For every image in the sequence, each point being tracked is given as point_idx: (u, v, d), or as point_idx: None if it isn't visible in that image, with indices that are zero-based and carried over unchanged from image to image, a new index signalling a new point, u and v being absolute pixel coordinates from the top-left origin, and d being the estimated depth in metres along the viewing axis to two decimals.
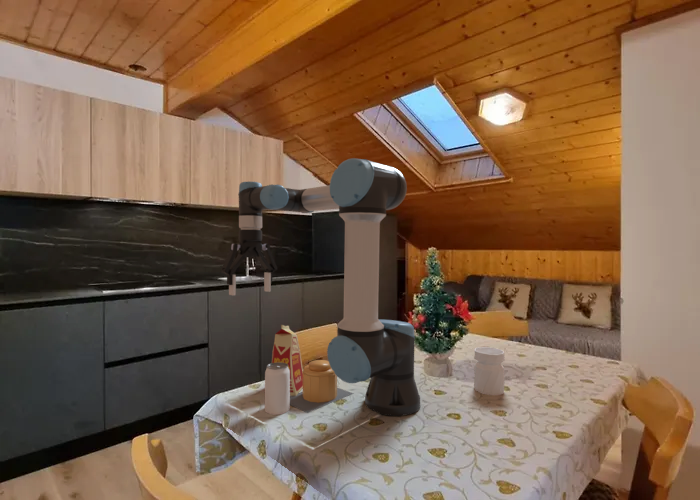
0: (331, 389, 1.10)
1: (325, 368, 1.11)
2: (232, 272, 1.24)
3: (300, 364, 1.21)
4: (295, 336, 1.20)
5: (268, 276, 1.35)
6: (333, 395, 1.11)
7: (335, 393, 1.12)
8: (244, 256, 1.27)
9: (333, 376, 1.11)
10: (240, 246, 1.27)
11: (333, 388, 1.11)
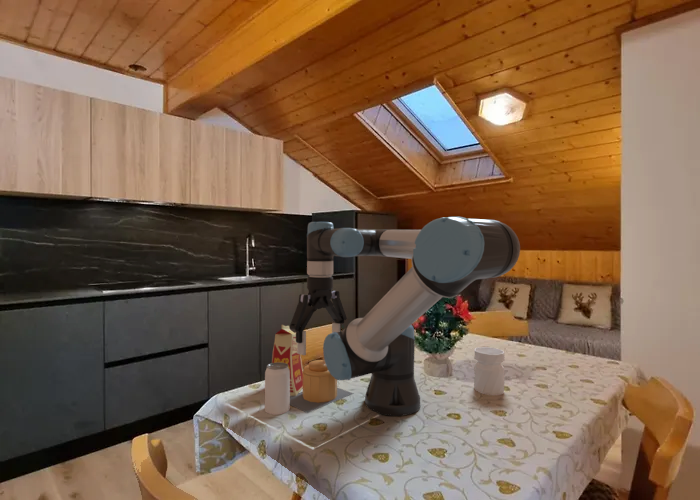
0: (331, 389, 1.10)
1: (325, 368, 1.11)
2: (302, 328, 1.07)
3: (300, 364, 1.21)
4: (295, 336, 1.20)
5: (337, 328, 1.18)
6: (333, 395, 1.11)
7: (335, 393, 1.12)
8: (315, 308, 1.10)
9: None
10: (310, 297, 1.10)
11: (333, 388, 1.11)
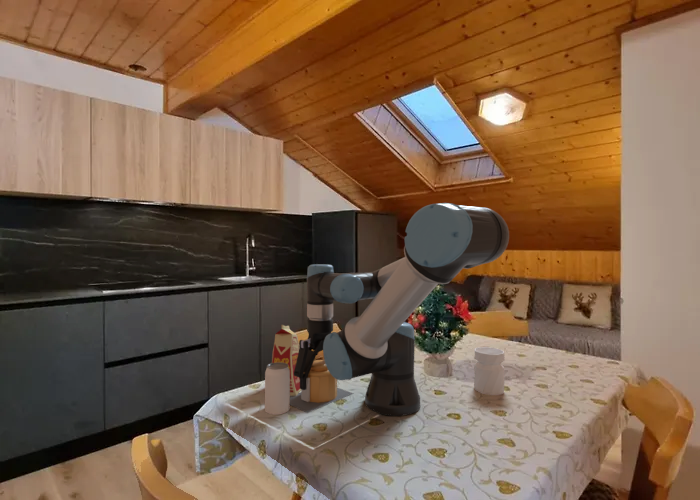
0: (331, 389, 1.10)
1: (325, 368, 1.11)
2: (306, 375, 1.08)
3: None
4: (295, 336, 1.20)
5: None
6: (333, 395, 1.11)
7: (335, 393, 1.12)
8: (316, 353, 1.10)
9: None
10: (310, 341, 1.10)
11: (333, 388, 1.11)
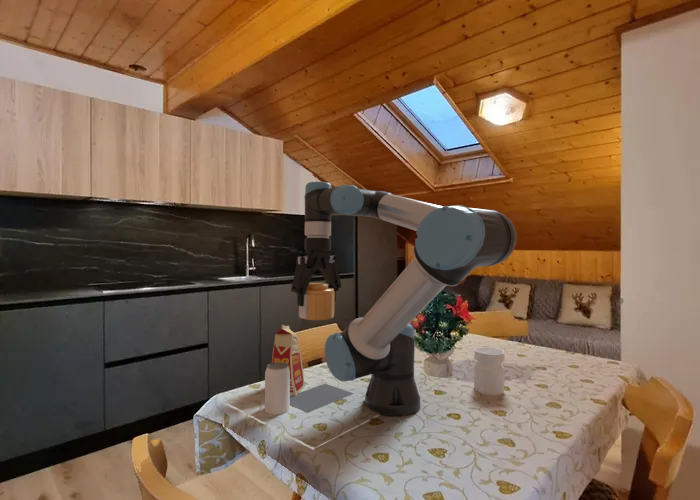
0: (327, 308, 1.10)
1: (322, 288, 1.10)
2: (304, 291, 1.08)
3: (300, 364, 1.21)
4: (295, 336, 1.20)
5: None
6: (330, 314, 1.10)
7: (332, 313, 1.11)
8: (313, 270, 1.09)
9: (330, 295, 1.10)
10: (307, 258, 1.09)
11: (330, 307, 1.10)
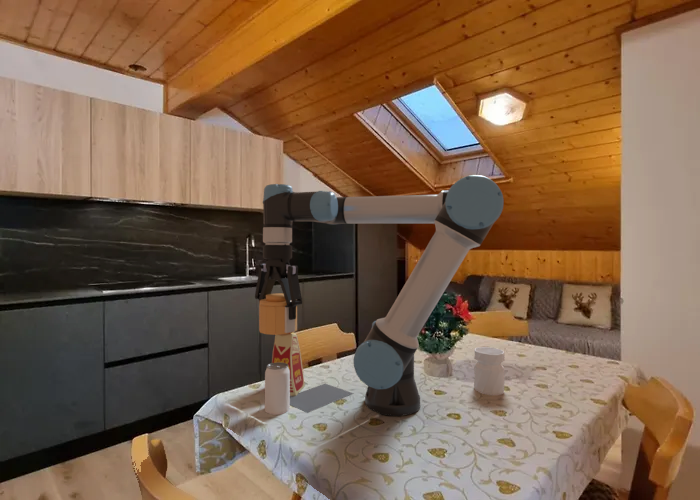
0: (262, 321, 1.01)
1: (266, 298, 1.02)
2: (260, 299, 1.07)
3: (300, 364, 1.21)
4: (295, 336, 1.20)
5: None
6: (264, 329, 1.00)
7: (269, 329, 1.00)
8: (265, 279, 1.04)
9: (264, 308, 1.00)
10: (265, 266, 1.06)
11: (264, 321, 1.00)
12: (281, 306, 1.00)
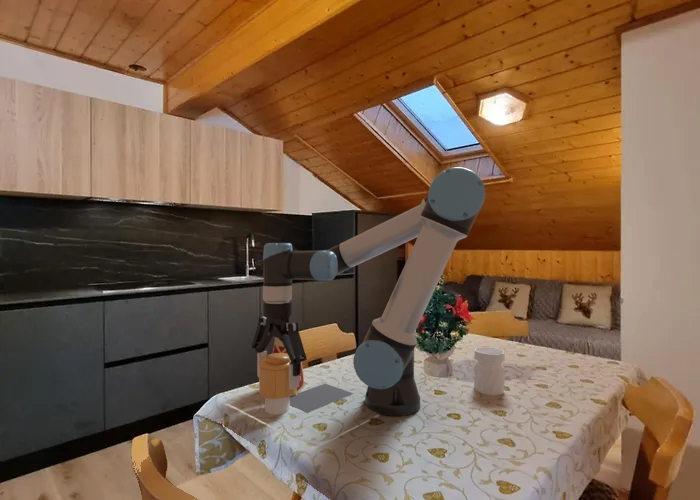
0: (262, 384, 1.01)
1: (266, 361, 1.02)
2: (256, 349, 1.08)
3: (300, 364, 1.21)
4: None
5: None
6: (264, 393, 1.00)
7: (269, 393, 1.00)
8: (264, 334, 1.05)
9: (264, 372, 1.00)
10: (265, 321, 1.06)
11: (264, 385, 1.00)
12: (281, 370, 1.00)
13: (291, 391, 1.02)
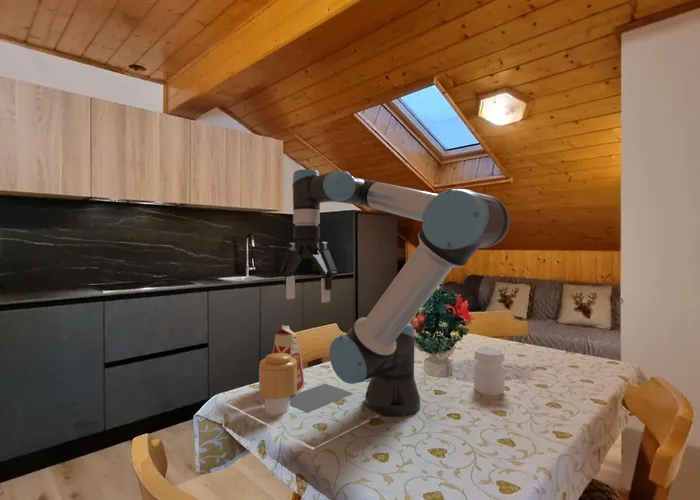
0: (262, 384, 1.01)
1: (266, 361, 1.02)
2: (285, 273, 1.15)
3: (300, 364, 1.21)
4: (295, 336, 1.20)
5: None
6: (264, 393, 1.00)
7: (269, 393, 1.00)
8: (294, 256, 1.12)
9: (264, 371, 1.00)
10: None
11: (264, 385, 1.00)
12: (281, 370, 1.00)
13: (291, 391, 1.02)
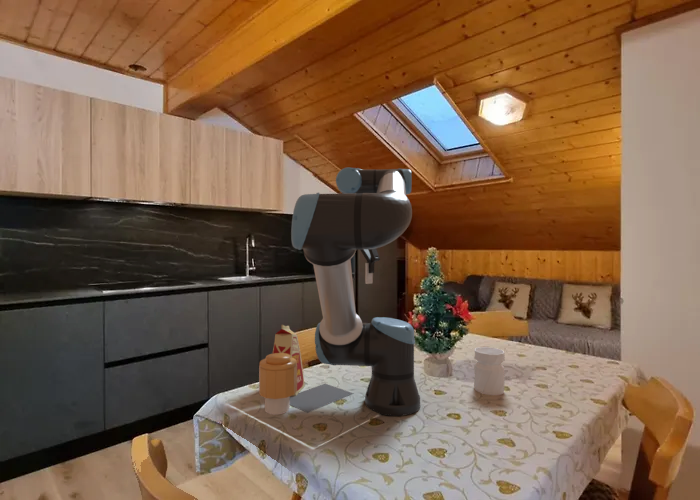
0: (262, 384, 1.01)
1: (266, 361, 1.02)
2: None
3: (300, 364, 1.21)
4: (295, 336, 1.20)
5: None
6: (265, 393, 1.00)
7: (269, 393, 1.00)
8: None
9: (264, 372, 1.00)
10: None
11: (264, 385, 1.00)
12: (281, 370, 1.00)
13: (291, 391, 1.02)
